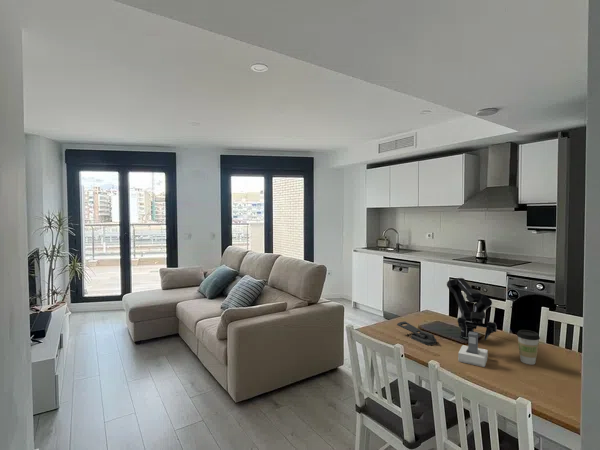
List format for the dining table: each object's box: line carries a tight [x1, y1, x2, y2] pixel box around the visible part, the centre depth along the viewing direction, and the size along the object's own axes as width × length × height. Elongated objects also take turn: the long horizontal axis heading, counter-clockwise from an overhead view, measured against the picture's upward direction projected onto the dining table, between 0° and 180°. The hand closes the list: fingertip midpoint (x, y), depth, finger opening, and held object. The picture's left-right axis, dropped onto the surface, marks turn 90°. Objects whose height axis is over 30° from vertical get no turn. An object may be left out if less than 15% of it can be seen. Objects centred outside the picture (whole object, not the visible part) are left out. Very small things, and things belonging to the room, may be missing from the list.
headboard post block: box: [457, 344, 489, 368], centre depth 176 cm, size 12×12×4 cm
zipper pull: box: [396, 321, 437, 346], centre depth 208 cm, size 9×7×25 cm
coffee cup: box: [516, 329, 541, 365], centre depth 172 cm, size 10×10×15 cm
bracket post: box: [467, 331, 479, 355], centre depth 176 cm, size 5×4×13 cm
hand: (475, 338), depth 182 cm, fingers open, 9 cm apart
